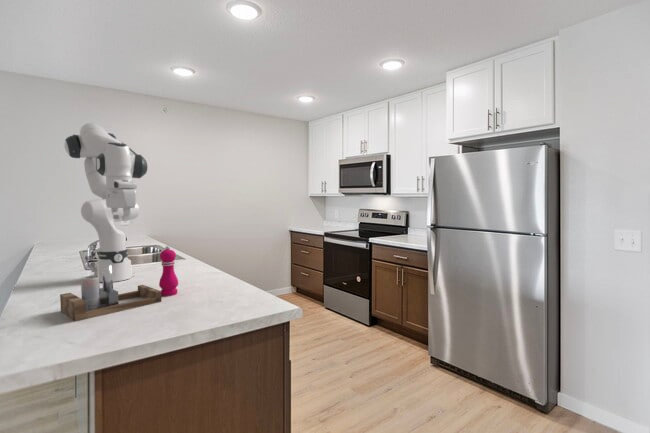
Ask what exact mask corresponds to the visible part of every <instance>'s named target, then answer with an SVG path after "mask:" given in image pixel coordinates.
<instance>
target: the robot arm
mask: <svg viewBox="0 0 650 433" xmlns="http://www.w3.org/2000/svg"><path fill="white" fill-rule="evenodd" d="M64 149H65V152H66V153H67V154H68V156H69V157H71V158H73V159H80V158H85V159H84V163H83V164H84V173H85V176H86V179H87V183H88V185H89V189H90V191H91V192H92V194H93V195H95V196H97V197H98V198H96V199H92V200H91V199H90V200H88V201H87V200H86V201H84V203H83V204H82V205H81V208H80V214H81V217H82V219H83V220H85V222H87V223H89V224H90V225H91V226H93V228H94V229H95V231H96V234H97V235H98V240H99V241H98V243H99V251H98V260H97V261H96V263H95V264H94V266H93V267H91V269H90V270H91V273H93V274H91V275H89V276H98V277H99V283H103V279H102V266H103V265H112V271H113V283H114V282H121V281H125V280H129V279H131V278H133V277H135V276H136V274H135V273H133V270H132V260H131V259H129V258H128V256H129V255H128V254H129V252H128V249H127V237H126V233H125V232H124V231H122V229H121V230H120V229H118V228H116V226H115V222H127V221H131V220H135V219H137V217H139V214H140V206H139V204H138V203H137V191H136V189H137V188H138V183H137V182H135V181H134V180H133V179H141V178H142V177H143V176H145V175H146V174H147V172H148V163H147V160H146V158H145V157H144V156H143V155H141V154H137V153H136V152H135V151H134V150H133V149H132V148H130V146H129V145H127V144H126V143H124V142H122V141H120V140H118V138H117V136H115V134H113V133H110V132H107V130H106V129H104V128H103V127H102V126H101V125H99V124H98V123H94V122H88V123H84V124H83V125H82V126H81V127H80V130H79V134H72V135H70V136H67V137H66V138H65V141H64ZM99 198H100V199H99Z"/></svg>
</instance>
